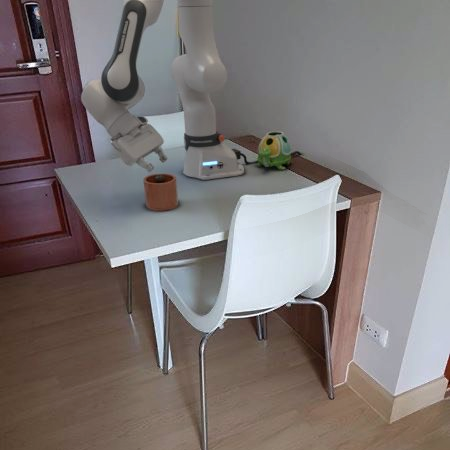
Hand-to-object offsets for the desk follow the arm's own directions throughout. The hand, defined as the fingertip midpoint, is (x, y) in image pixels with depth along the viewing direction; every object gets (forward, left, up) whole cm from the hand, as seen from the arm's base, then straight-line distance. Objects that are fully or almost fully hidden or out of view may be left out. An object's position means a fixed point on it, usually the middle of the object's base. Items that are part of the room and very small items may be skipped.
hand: (158, 165), depth 148 cm
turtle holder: (-43, -31, -13) cm, 54 cm away
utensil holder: (0, 0, -13) cm, 13 cm away
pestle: (0, 0, -12) cm, 12 cm away
